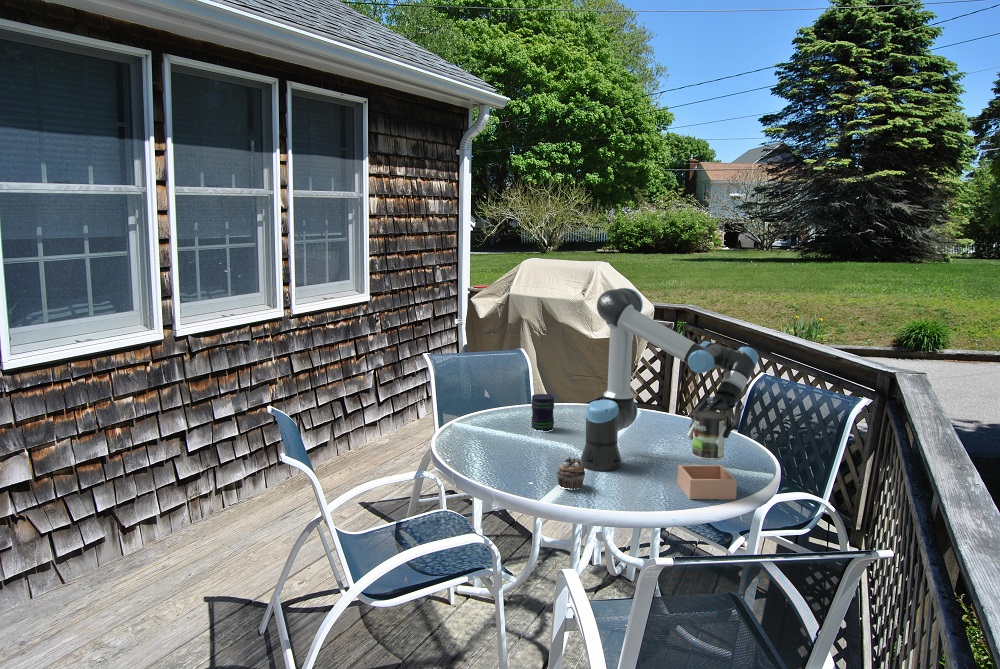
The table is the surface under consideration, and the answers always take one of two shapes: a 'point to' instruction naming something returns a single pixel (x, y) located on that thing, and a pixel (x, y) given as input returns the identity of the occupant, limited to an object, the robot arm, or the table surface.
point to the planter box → (706, 482)
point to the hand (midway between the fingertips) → (703, 441)
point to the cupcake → (571, 473)
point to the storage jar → (542, 412)
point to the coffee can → (707, 435)
